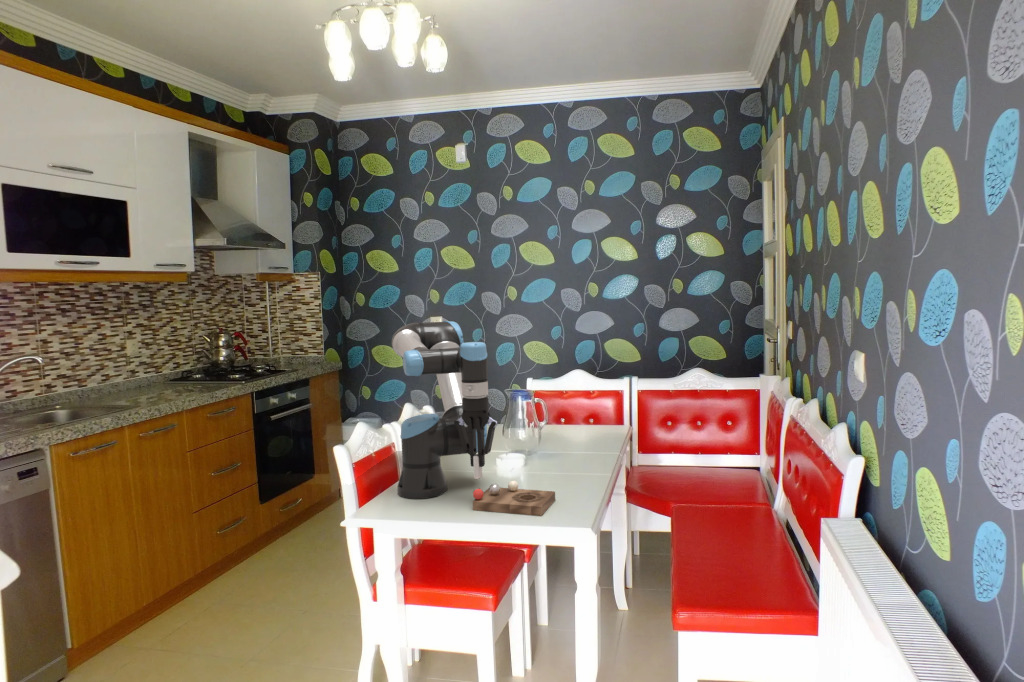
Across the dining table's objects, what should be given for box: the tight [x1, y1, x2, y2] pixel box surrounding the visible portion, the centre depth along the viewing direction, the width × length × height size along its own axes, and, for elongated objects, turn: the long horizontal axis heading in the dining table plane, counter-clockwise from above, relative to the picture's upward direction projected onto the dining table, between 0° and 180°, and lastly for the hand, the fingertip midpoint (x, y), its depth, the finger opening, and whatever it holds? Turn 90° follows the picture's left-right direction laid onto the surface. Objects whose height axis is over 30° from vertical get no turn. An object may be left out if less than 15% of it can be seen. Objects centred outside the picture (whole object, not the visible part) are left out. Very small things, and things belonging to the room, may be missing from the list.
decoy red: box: [472, 488, 484, 500], centre depth 189 cm, size 3×3×3 cm
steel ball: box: [488, 483, 501, 495], centre depth 193 cm, size 3×3×3 cm
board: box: [472, 487, 556, 517], centre depth 191 cm, size 20×14×2 cm
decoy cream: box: [507, 480, 519, 491], centre depth 196 cm, size 3×3×3 cm
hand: (478, 477), depth 194 cm, fingers closed
